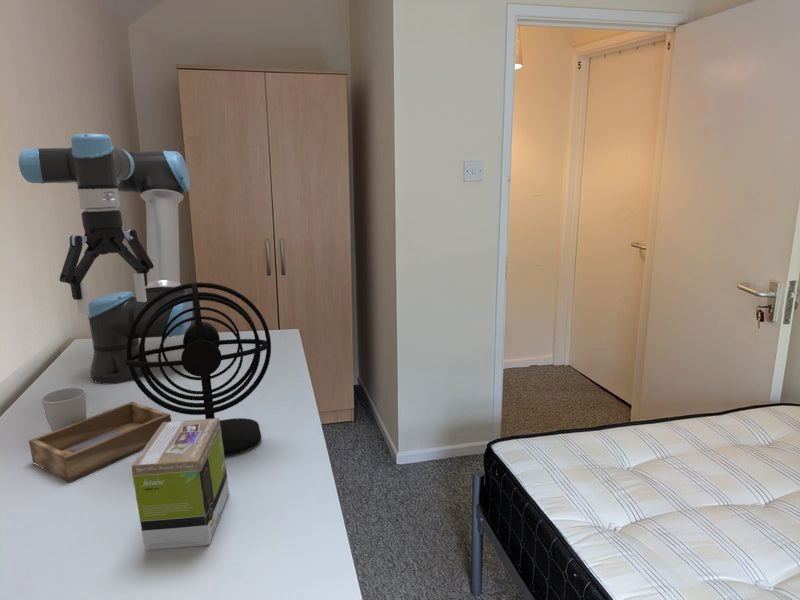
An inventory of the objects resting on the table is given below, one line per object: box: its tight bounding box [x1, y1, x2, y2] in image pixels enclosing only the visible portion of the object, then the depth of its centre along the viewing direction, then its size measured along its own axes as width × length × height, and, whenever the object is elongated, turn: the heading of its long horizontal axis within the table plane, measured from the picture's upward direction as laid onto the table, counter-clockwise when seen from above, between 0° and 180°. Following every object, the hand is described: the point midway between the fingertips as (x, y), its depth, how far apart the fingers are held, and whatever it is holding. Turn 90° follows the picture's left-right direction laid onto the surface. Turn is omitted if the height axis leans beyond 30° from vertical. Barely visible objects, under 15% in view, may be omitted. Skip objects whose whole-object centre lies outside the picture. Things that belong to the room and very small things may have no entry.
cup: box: [41, 387, 88, 432], centre depth 124 cm, size 8×8×10 cm
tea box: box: [131, 417, 230, 551], centre depth 92 cm, size 15×10×15 cm, turn 5°
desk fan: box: [125, 282, 272, 456], centre depth 116 cm, size 27×18×35 cm, turn 109°
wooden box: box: [28, 401, 172, 483], centre depth 119 cm, size 14×22×5 cm, turn 147°
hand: (114, 307), depth 126 cm, fingers open, 13 cm apart
